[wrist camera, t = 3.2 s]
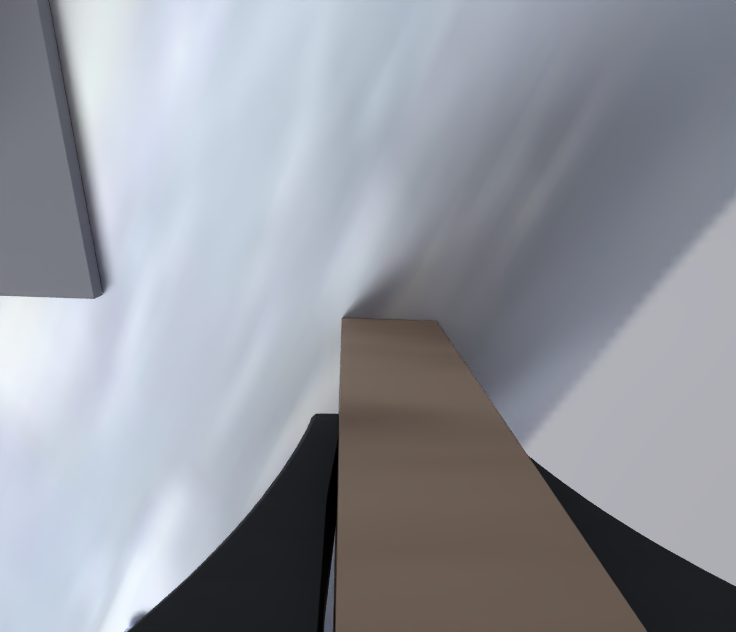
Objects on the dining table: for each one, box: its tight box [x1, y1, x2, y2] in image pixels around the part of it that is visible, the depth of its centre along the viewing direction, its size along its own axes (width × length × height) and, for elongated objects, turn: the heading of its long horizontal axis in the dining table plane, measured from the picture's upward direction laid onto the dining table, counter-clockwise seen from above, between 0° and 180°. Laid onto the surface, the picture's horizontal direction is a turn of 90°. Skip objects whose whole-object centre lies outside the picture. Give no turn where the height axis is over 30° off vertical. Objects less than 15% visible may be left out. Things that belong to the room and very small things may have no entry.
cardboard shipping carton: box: [333, 318, 647, 632], centre depth 8 cm, size 5×3×10 cm, turn 177°
